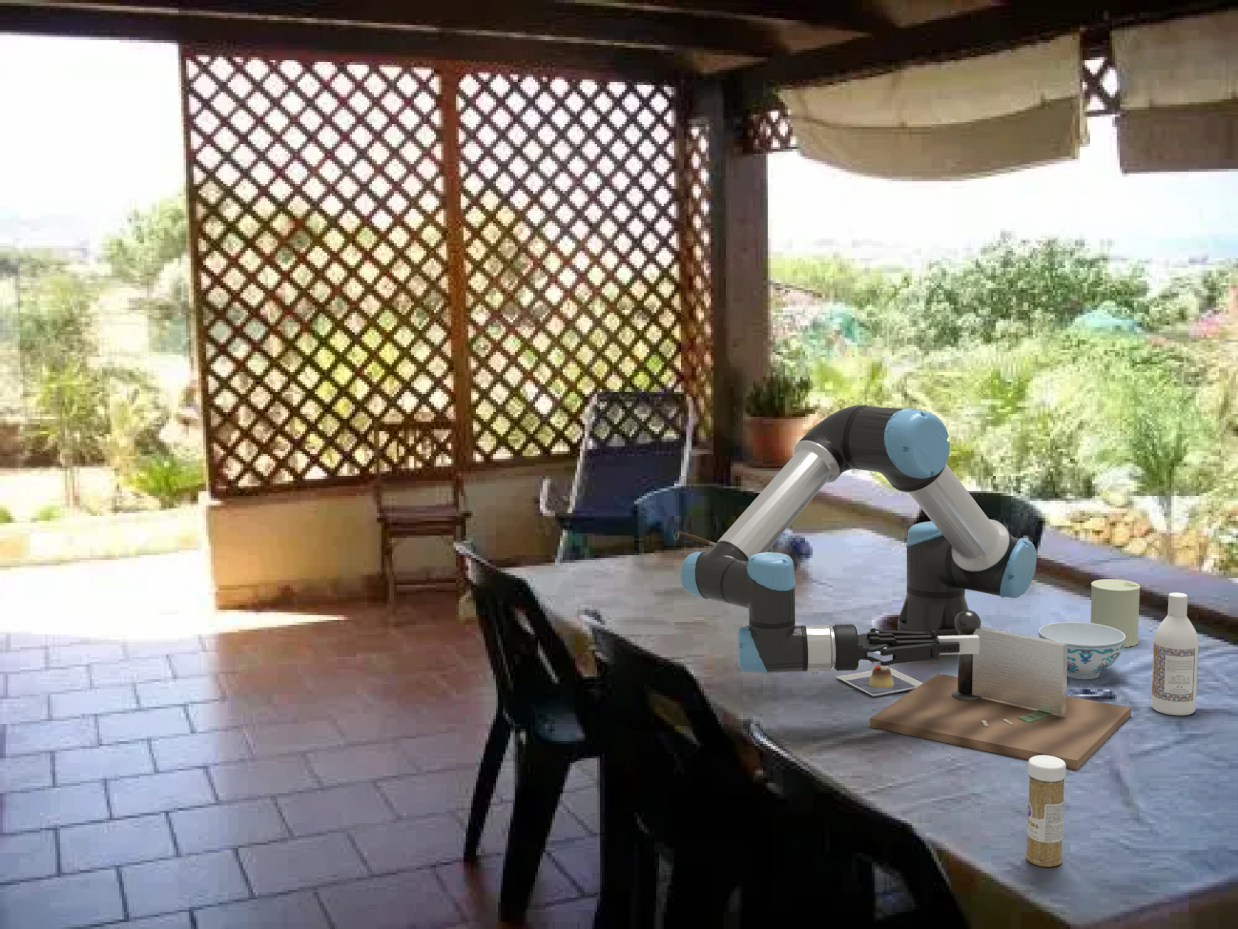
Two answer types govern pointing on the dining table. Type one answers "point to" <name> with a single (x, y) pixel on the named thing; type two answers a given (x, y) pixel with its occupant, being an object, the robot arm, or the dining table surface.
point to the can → (1116, 606)
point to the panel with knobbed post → (1013, 667)
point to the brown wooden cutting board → (1002, 722)
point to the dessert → (881, 679)
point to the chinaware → (1086, 646)
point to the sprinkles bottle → (1045, 810)
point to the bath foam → (1175, 661)
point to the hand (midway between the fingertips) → (978, 644)
